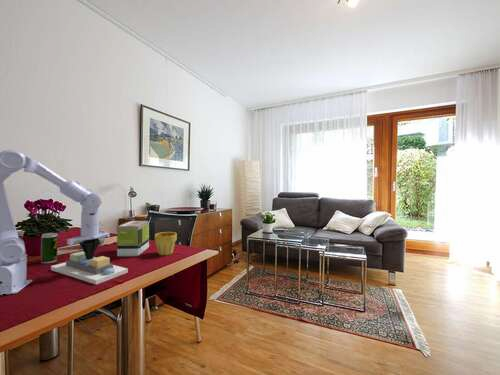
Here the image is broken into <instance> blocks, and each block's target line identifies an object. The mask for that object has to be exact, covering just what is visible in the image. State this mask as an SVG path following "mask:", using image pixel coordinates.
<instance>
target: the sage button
mask: <svg viewBox="0 0 500 375" xmlns="http://www.w3.org/2000/svg"><path fill="white" fill-rule="evenodd" d="M84 258H86V256H85V253H84V250H83V251H77V252H73V253H70V254H69V260H70V261H72V262H80V259H84Z"/></svg>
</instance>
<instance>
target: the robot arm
mask: <svg viewBox="0 0 500 375" xmlns="http://www.w3.org/2000/svg"><path fill="white" fill-rule="evenodd" d="M22 169H23V172H24V173H25V172H26V173H30V174H36V175H37V176H39V177H41V178H43V179H44V180H47V181H48V182H49V183H51V184H53V185H55V186H57V187H58V188H59V192H60V193H61V194H63V195H64V196H65V197H68V198H69V199H71V200H72V201H74V202H76V203H79V204H80V206H81V213H80V214H81V216H80V235H79V236H74V237H71V238H67V239H66V244H67V245H68V246H71V245H72V246H73V245H75V244H79V246H80V247H81V249H82V250H83V252H84V253H85V256H86V259H88V260H90V259H93V257H95V254H96V250H97V248H98V247H99V246H98V245H99V243H100V240H98V239H100V238H105V239H106V238H110V236H111V235H110V234H111V233H110V231H109V232H108V231H104V232H102V233H99V227H100V223H99V222H100V206H101V205H102V202H103V201H102V200H101V197H100V196H99V195H98V194H96V193H92V192H93V190H91V189H87V188H86V187H84V186H83V185H81V182H80V181H77V180H76V181H75V180H72V179H71V180H66V179H64V178H63V177H62V176H60V175H59V174H57V173H55V172H54V171H53V170H51V169H50V168H48V167H47V166H45V165H44V164H42V163H41V162H39V161H38V160H35V159H33V158H32V157H30V156H28V155H26V156H25V155H24V154H23V153H21V152H20V151H18V150H14V149H7V150H5V149H4V150H3V151H0V296H4V295H3V294H6V295H11V294H13V295H14V294H17V293H18V292H20V291H21V290H22V289H24V288H25V287H27V286H28V285H29V284H31V283H32V282H33V279H27V272H28V270H27V266H28V263H27V262H28V260H27V259H28V258H27V257H28V256H27V255H25V253H26V247H25V246H26V244H25V242H24V240H23V239H22V238H21V237H20V236H19V233H18V231H17V228H16V224H15V221H14V217H13V216H14V215H13V213H12V209H11V206H10V203H9V199H8V195H7V192H6V187H5V184H4V182H5V180H7V179H8V178H9V177H10V176H11V175H12V174H14V173H16V172H19V171H20V170H22ZM97 246H98V247H97Z"/></svg>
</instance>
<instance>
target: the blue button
mask: <svg viewBox="0 0 500 375" xmlns="http://www.w3.org/2000/svg"><path fill="white" fill-rule="evenodd" d="M93 258H97V257H96V256H93ZM80 264H83V265H90V260H88V259H86V258H84V259H80Z"/></svg>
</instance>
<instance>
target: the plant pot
mask: <svg viewBox="0 0 500 375" xmlns="http://www.w3.org/2000/svg"><path fill="white" fill-rule="evenodd" d="M177 234H178V233H177V232H174V231H164V232H158V233H155V234H154V242H155V243H156V244H155V245H156V248H157V252H158V255H159V256H168V255H172V254H173V252H174V248H175V244H176V242H177V239H178V236H177Z"/></svg>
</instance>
